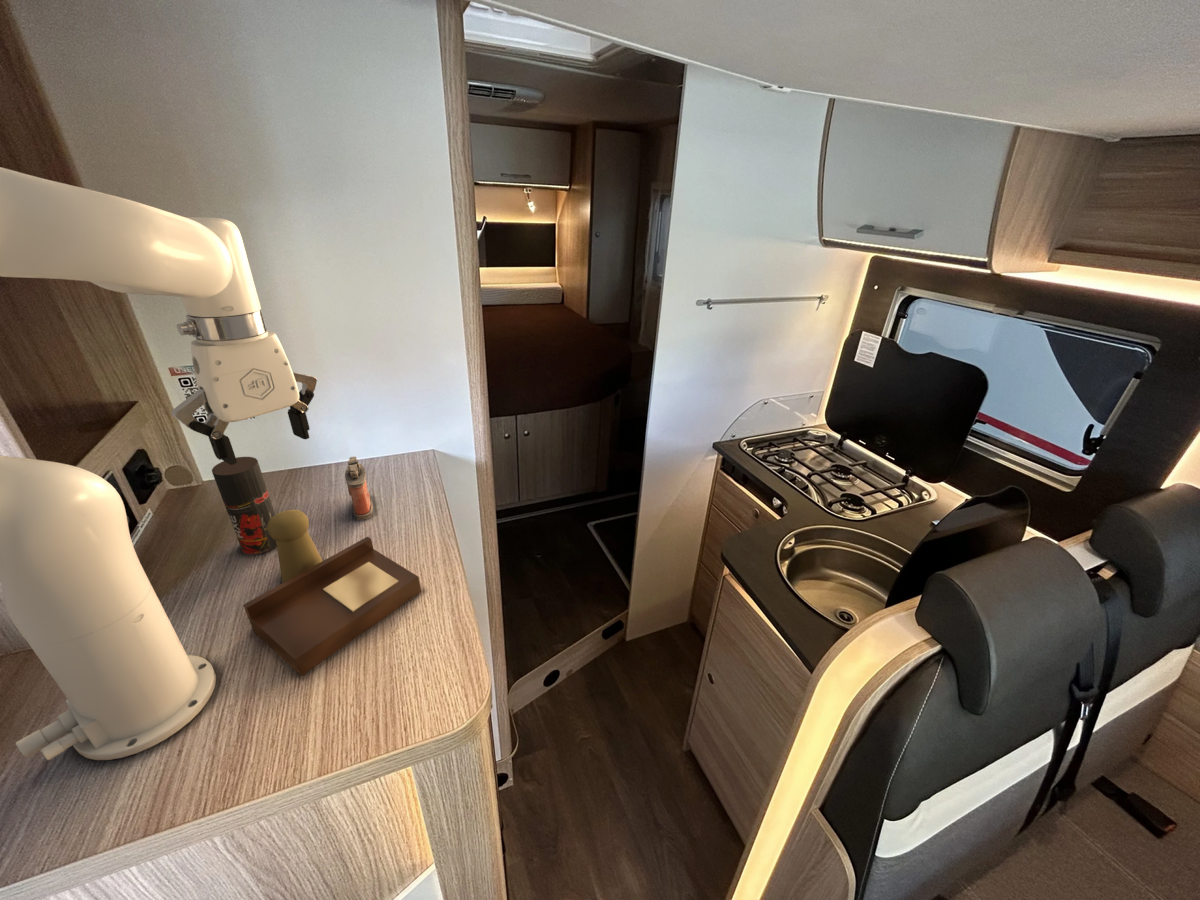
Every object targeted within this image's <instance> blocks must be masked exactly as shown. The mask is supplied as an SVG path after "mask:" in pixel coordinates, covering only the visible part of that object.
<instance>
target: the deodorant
mask: <svg viewBox="0 0 1200 900" xmlns="http://www.w3.org/2000/svg"><path fill="white" fill-rule="evenodd" d="M236 460H237V462H236V464H233V465H230V464H228V463H226V462H225V461H223V460H222V461H221V462H219V463H217V464H216V465H214V466H213V467H212V469H211V473H212V475H213V478H214V481H215V484H216V486H217V489H218V491H219V494H220V497H221V499H222V502H223V504H224V507H225V510H226V512H227V515H228V517H229V520H230V523H231V525H232V528H233V530H234V534H235V536H236V538H237V539H236V540H237V541H238V543H239V546H240V549H241V552H242V553H243V554H247V555H261V554H264V553H267V552H270V551H272V550H274V549H275V548H277V544H276V540H275V539H273V538H272V537H271V536H270V535H269V532H268V522H269V520H270V519H271V518H272V517H273V516H274V515H276V512H275V509H274V505H273V503H272V500H271V497H270V494H269V490H268V488H267V485H266V481H265V479H264V476H263V473H262V470H261V467H260V464H259V460H258V459H257V458H256V457H253V456H238V457H237V456H236Z"/></svg>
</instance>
